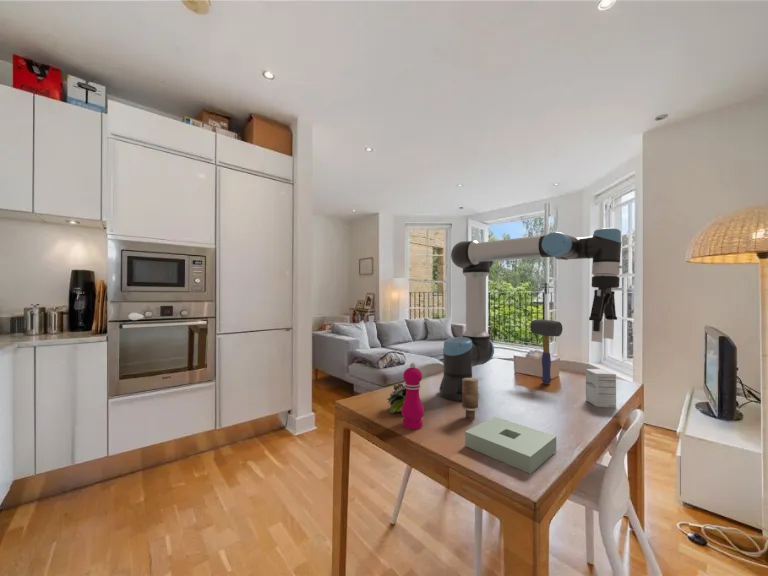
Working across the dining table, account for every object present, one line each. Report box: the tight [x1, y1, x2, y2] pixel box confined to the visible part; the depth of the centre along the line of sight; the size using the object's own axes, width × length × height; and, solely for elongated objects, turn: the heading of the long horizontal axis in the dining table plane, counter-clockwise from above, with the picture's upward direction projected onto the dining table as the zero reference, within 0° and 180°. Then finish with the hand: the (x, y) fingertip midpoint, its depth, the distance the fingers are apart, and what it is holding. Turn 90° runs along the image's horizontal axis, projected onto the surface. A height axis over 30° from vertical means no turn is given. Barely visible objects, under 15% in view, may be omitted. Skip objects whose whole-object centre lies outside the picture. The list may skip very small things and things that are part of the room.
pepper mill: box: [400, 362, 425, 430], centre depth 101 cm, size 7×7×20 cm
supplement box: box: [585, 368, 617, 408], centre depth 121 cm, size 7×7×13 cm
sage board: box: [464, 416, 557, 475], centre depth 86 cm, size 18×16×4 cm
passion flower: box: [386, 383, 406, 415], centre depth 114 cm, size 11×11×12 cm
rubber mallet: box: [529, 319, 564, 385], centre depth 148 cm, size 12×8×30 cm, turn 33°
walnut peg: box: [461, 377, 479, 421], centre depth 107 cm, size 5×5×13 cm
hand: (602, 340), depth 104 cm, fingers open, 13 cm apart
